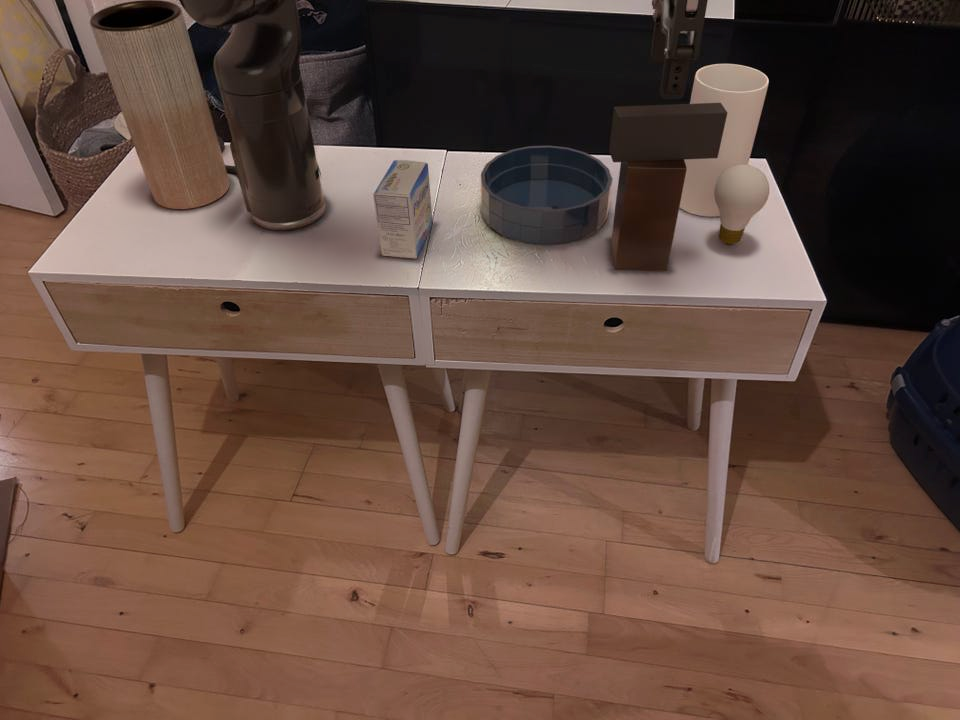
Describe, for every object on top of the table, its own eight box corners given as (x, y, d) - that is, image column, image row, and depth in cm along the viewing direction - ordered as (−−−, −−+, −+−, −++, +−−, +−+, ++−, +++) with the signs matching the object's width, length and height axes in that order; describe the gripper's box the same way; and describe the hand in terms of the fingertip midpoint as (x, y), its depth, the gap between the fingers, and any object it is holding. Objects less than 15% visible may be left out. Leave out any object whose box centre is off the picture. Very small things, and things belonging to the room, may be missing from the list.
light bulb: (720, 224, 92) (738, 149, 85) (763, 243, 88) (785, 167, 82) (693, 243, 89) (709, 168, 82) (736, 263, 85) (757, 187, 79)
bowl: (457, 222, 93) (455, 186, 89) (523, 168, 102) (524, 134, 99) (569, 262, 86) (572, 225, 83) (628, 201, 96) (633, 166, 92)
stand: (614, 270, 85) (628, 167, 76) (610, 240, 89) (623, 140, 80) (667, 271, 85) (687, 168, 76) (661, 241, 89) (679, 141, 80)
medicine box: (416, 260, 87) (410, 195, 81) (380, 256, 88) (372, 192, 82) (433, 224, 93) (429, 161, 87) (399, 221, 93) (392, 158, 87)
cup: (743, 191, 97) (774, 69, 86) (730, 222, 92) (762, 97, 81) (681, 178, 100) (704, 59, 89) (665, 208, 94) (687, 85, 83)
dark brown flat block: (613, 162, 77) (618, 116, 73) (608, 151, 79) (613, 106, 75) (717, 158, 77) (727, 112, 74) (711, 147, 79) (720, 102, 76)
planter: (140, 208, 96) (71, 28, 81) (172, 170, 104) (114, -2, 88) (213, 212, 95) (158, 30, 80) (241, 173, 103) (195, 0, 87)
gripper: (641, -130, 67) (621, 51, 78) (659, -94, 57) (633, 110, 68) (726, -131, 66) (694, 52, 78) (759, -94, 56) (716, 111, 67)
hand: (665, 79), depth 73 cm, fingers open, 8 cm apart
